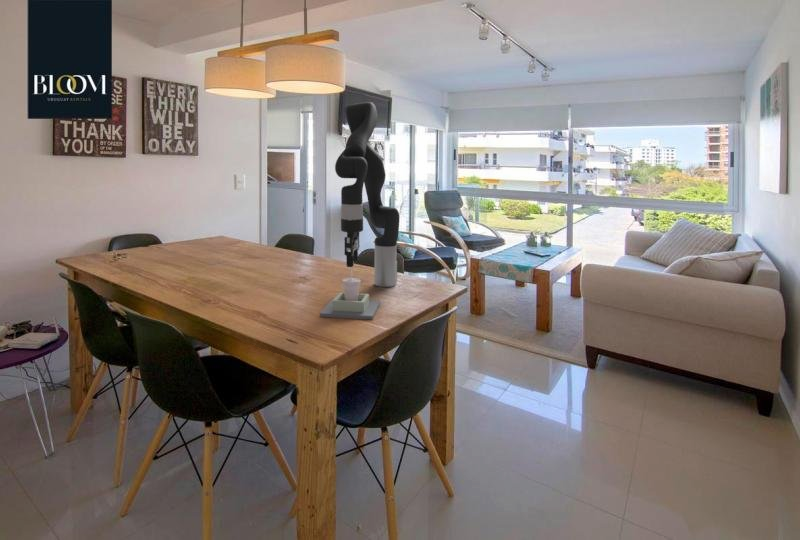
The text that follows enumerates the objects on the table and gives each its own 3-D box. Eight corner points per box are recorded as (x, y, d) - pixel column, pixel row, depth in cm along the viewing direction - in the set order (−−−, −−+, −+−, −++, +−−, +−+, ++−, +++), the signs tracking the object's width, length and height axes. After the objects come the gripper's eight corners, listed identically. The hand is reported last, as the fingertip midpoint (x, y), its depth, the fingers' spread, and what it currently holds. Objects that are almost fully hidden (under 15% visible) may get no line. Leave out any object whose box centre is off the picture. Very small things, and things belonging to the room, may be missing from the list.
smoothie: (361, 304, 174) (361, 266, 171) (360, 309, 168) (360, 270, 165) (343, 303, 174) (343, 265, 171) (341, 309, 168) (341, 269, 165)
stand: (332, 301, 181) (332, 289, 180) (380, 304, 179) (380, 291, 178) (319, 316, 163) (319, 303, 162) (372, 319, 162) (372, 306, 160)
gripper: (345, 214, 171) (345, 259, 175) (336, 219, 157) (337, 268, 161) (366, 215, 170) (366, 260, 174) (359, 220, 156) (359, 269, 160)
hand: (352, 264), depth 167 cm, fingers open, 8 cm apart
